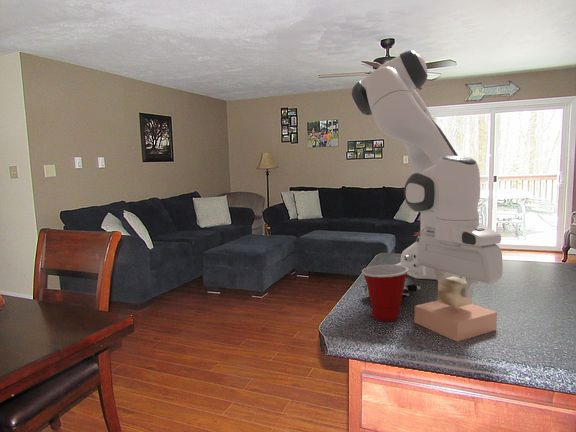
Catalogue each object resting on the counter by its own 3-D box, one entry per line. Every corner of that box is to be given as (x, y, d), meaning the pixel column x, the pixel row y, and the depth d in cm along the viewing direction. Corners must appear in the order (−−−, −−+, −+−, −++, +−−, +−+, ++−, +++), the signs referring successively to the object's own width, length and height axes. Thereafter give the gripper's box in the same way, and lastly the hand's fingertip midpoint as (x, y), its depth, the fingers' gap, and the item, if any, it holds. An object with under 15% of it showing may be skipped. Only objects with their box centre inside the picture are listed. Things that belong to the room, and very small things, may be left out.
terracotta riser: (414, 322, 95) (414, 305, 94) (451, 313, 100) (452, 297, 100) (457, 341, 84) (457, 322, 84) (496, 329, 90) (497, 312, 89)
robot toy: (382, 290, 123) (357, 300, 111) (382, 275, 123) (358, 283, 111) (423, 297, 116) (401, 308, 104) (423, 281, 115) (402, 291, 103)
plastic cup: (366, 307, 106) (366, 261, 104) (410, 312, 102) (411, 264, 100) (356, 322, 96) (356, 271, 94) (404, 328, 92) (405, 275, 90)
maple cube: (437, 301, 93) (438, 279, 92) (453, 297, 95) (454, 276, 94) (455, 307, 88) (456, 285, 88) (472, 303, 91) (472, 281, 90)
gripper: (410, 226, 97) (410, 283, 99) (487, 239, 79) (484, 309, 81) (430, 224, 100) (429, 279, 102) (508, 236, 82) (506, 303, 84)
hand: (454, 293), depth 91 cm, fingers closed on maple cube, 5 cm apart
